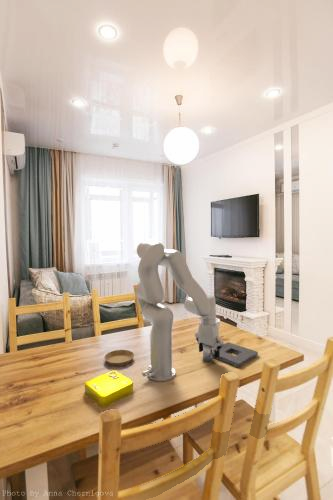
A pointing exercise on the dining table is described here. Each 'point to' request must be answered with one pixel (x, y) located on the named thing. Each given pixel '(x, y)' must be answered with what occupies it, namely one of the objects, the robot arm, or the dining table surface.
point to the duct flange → (239, 359)
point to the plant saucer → (119, 357)
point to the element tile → (108, 388)
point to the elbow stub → (207, 353)
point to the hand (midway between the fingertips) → (209, 354)
